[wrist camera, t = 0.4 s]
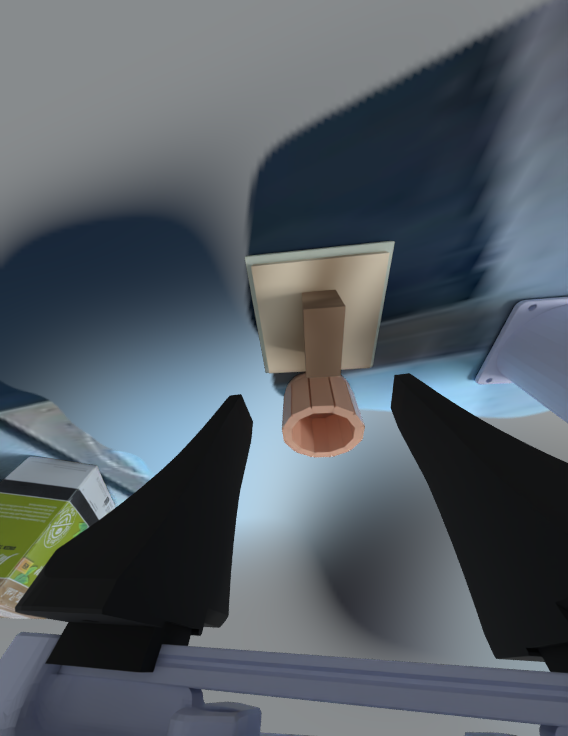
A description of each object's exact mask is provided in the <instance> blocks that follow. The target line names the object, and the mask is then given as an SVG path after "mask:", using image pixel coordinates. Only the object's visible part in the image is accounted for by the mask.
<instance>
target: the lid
mask: <svg viewBox="0 0 568 736" xmlns="http://www.w3.org/2000/svg"><path fill="white" fill-rule="evenodd" d="M389 254H390V253H389V252H387V251H381V252H371V253H361V254H352V255H342V256H332V257H322V258H312V259H302V260H292V261H282V262H272V263H262V264H253V265H252V266H251V269H252V275H253V281H254V287H255V292H256V298H257V304H258V310H259V316H260V322H261V328H262V334H263V339H264V345H265V351H266V357H267V363H268V369H269V373H285V372H303V371H306V378H312V377H331V376H341V369H359V368H370V366H371V360H372V354H373V348H374V342H375V336H376V331H377V325H378V319H379V313H380V307H381V301H382V295H383V290H384V284H385V278H386V272H387V266H388V260H389Z"/></svg>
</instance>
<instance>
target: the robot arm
mask: <svg viewBox="0 0 568 736" xmlns="http://www.w3.org/2000/svg"><path fill="white" fill-rule="evenodd" d="M531 305H532V306H531ZM530 306H531V307H530ZM529 307H530V308H529ZM475 382H477V383H478V384H501V383H514V384H516V385H517V386H518V387H520V388H521V389H522V390H524V391H525V392H526V393H528V394H529V395H530V396H532V397H533V398H534V399H536V400H537V401H538V402H540V403H541V404H542V405H544V406H545V407H546V408H548V409H549V410H550V411H552V412H553V413H555V414H556V415H557V416H559V417H560V418H561V419H563V420H564V421H566V422H567V423H568V297H558V298H545V299H532V300H523V301H520V302H518V303H517V304H516V305H515V306H514V308H513V310H512V312H511V314H510V316H509V317H508V319H507V321H506V323H505V325H504V327H503V328H502V330H501V332H500V334H499V336H498V338H497V340H496V341H495V343H494V345H493V347H492V349H491V351H490V352H489V354H488V356H487V358H486V360H485V362H484V363H483V365H482V367H481V369H480V371H479V373H478V375H477V376H476V378H475ZM391 410H392V412H393V415H394V418H395V420H396V423H397V426H398V428H399V430H400V432H401V434H402V436H403V438H404V440H405V441H406V443H407V445H408V447H409V449H410V451H411V453H412V455H413V456H414V458H415V460H416V462H417V464H418V466H419V468H420V469H421V471H422V473H423V475H424V477H425V479H426V481H427V483H428V485H429V488H430V490H431V492H432V495H433V497H434V499H435V502H436V504H437V507H438V509H439V511H440V513H441V516H442V519H443V521H444V524H445V526H446V529H447V531H448V534H449V536H450V539H451V541H452V544H453V547H454V549H455V552H456V555H457V558H458V560H459V563H460V566H461V568H462V571H463V574H464V576H465V579H466V582H467V585H468V588H469V590H470V593H471V596H472V599H473V602H474V605H475V608H476V611H477V613H478V617H479V619H480V623H481V626H482V629H483V632H484V634H485V637H486V639H487V641H488V643H489V645H490V648H491V650H492V652H493V654H494V656H495V658H496V659H510V660H525V661H540V662H545V663H546V665H547V666H548V668H549V670H550V672H543V671H529V670H515V669H501V668H487V667H473V666H459V665H444V664H431V663H417V662H403V661H389V660H375V659H361V658H347V657H333V656H319V655H305V654H291V653H277V652H262V651H248V650H235V649H221V648H206V647H192V646H188V644H189V639H190V636H191V635H197V636H200V635H201V634H202V631H203V627H218V628H219V627H220V626H221V625H222V624H223V623H224V622H225V621H226V619H227V617H228V615H229V596H230V579H231V566H232V555H233V543H234V534H235V525H236V516H237V509H238V500H239V494H240V488H241V484H242V480H243V475H244V470H245V466H246V462H247V457H248V453H249V448H250V444H251V437H252V427H253V421H252V418H251V416H250V414H249V412H248V409H247V407H246V405H245V402H244V400H243V397H242V395H241V394H240V395H231V396H229V397H228V398H227V399H226V401H225V402H224V403H223V404H222V405H221V407H220V408H219V409H218V410H217V411H216V413H215V414H214V415H213V416H212V418H211V419H210V420H209V421H208V422H207V423H206V425H205V426H204V427H203V428H202V429H201V430H200V431H199V433H198V434H197V435H196V436H195V437H194V438H193V439H192V440H191V441H190V442H189V443H188V445H187V446H186V447H185V448H184V449H183V450H182V451H181V452H180V453H179V454H178V455H177V456H176V457H175V458H174V459H173V460H172V461H171V462H170V463H169V464H167V465H166V466H165V467H164V468H163V469H162V470H161V471H160V472H159V473H158V474H156V475H155V476H154V477H153V478H152V479H151V480H149V481H148V482H147V483H146V484H145V485H144V486H142V487H141V488H140V489H139V490H138V491H136V492H135V493H134V494H133V495H131V496H130V497H129V498H128V499H126V500H125V501H124V502H123V503H121V504H120V505H119V506H117V507H116V508H115V509H113V510H112V511H111V512H109V513H108V514H107V515H105V516H104V517H103V518H101V519H100V520H98V521H97V522H96V523H94V524H93V525H91V526H90V527H88V528H87V529H86V530H84V531H83V532H81V533H80V534H78V535H77V536H75V537H74V538H73V539H71V540H70V541H68V542H67V543H65V544H64V545H62V546H61V547H59V548H58V549H57V550H56V551H55V552H54V553H53V555H52V556H51V558H50V559H49V560H48V562H47V563H46V565H45V566H44V567H43V569H42V570H41V571H40V573H39V574H38V576H37V577H36V578H35V580H34V581H33V583H32V584H31V585H30V587H29V588H28V590H27V591H26V592H25V594H24V595H23V597H22V598H21V599H20V601H19V602H18V604H17V605H16V606H15V612H17V613H20V614H24V615H30V616H35V617H41V618H47V619H53V620H60V621H65V622H68V624H67V626H66V628H65V629H64V631H63V633H62V635H56V634H44V633H29V632H21V633H19V634H17V635H16V637H15V638H14V640H13V641H12V643H11V644H10V645H9V647H8V648H7V650H6V652H5V653H4V654H3V656H2V657H1V659H0V736H308V735H292V734H276V733H261V732H260V726H261V710H260V708H258V707H254V706H250V705H246V704H242V703H236V702H217V703H206V704H205V703H204V700H203V693H202V691H201V689H205V690H215V691H224V692H234V693H243V694H254V695H263V696H272V697H282V698H292V699H302V700H311V701H320V702H330V703H339V704H349V705H359V706H368V707H377V708H388V709H396V710H407V711H415V712H425V713H435V714H444V715H455V716H463V717H474V718H482V719H492V720H502V721H511V722H521V723H530V724H540V729H539V732H540V736H568V463H566V462H564V461H562V460H560V459H557V458H555V457H553V456H551V455H549V454H546V453H545V452H542V451H540V450H538V449H536V448H534V447H532V446H530V445H528V444H526V443H524V442H522V441H520V440H518V439H516V438H514V437H512V436H511V435H509V434H507V433H505V432H503V431H501V430H499V429H497V428H495V427H494V426H492V425H490V424H488V423H486V422H485V421H483V420H481V419H479V418H478V417H476V416H474V415H473V414H471V413H469V412H468V411H466V410H464V409H463V408H461V407H459V406H458V405H456V404H455V403H453V402H452V401H450V400H449V399H447V398H445V397H444V396H442V395H441V394H439V393H438V392H436V391H435V390H433V389H432V388H430V387H429V386H427V385H426V384H425V383H423V382H422V381H420V380H419V379H417V378H416V377H414V376H413V375H411V374H410V373H408V374H400V375H395V376H394V384H393V393H392V401H391ZM465 736H516V735H510V734H504V733H491V732H489V733H488V732H483V733H482V732H465Z"/></svg>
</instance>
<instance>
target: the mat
mask: <svg viewBox="0 0 568 736" xmlns="http://www.w3.org/2000/svg"><path fill="white" fill-rule="evenodd" d="M394 243H395V242H394V241H385V242H375V243H366V244H356V245H347V246H337V247H328V248H318V249H308V250H299V251H289V252H280V253H270V254H261V255H251V256H246V257H245V262H246V268H247V273H248V279H249V284H250V290H251V295H252V301H253V306H254V312H255V317H256V323H257V328H258V334H259V339H260V344H261V350H262V356H263V361H264V366H265V372H266V373H269V369H268V363H267V357H266V351H265V345H264V339H263V334H262V328H261V322H260V316H259V310H258V304H257V298H256V292H255V287H254V281H253V275H252V269H251V266H252V265H253V264H262V263H272V262H282V261H292V260H302V259H312V258H322V257H332V256H342V255H352V254H361V253H371V252H381V251H387V252H389V253H390V254H389V260H388V266H387V272H386V278H385V284H384V290H383V295H382V301H381V307H380V313H379V319H378V325H377V331H376V336H375V342H374V348H373V354H372V360H371V366H370V367H372V366H373V361H374V355H375V349H376V344H377V338H378V333H379V327H380V321H381V316H382V310H383V304H384V299H385V293H386V288H387V282H388V276H389V271H390V265H391V259H392V254H393V248H394Z"/></svg>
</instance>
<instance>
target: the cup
mask: <svg viewBox="0 0 568 736" xmlns="http://www.w3.org/2000/svg"><path fill="white" fill-rule="evenodd" d="M364 428H365V426H364V422H363V420H362V417H361V414H360V411H359V408H358V405H357V402H356V399H355V396H354V393H353V391H352V390H351V388H350V385H349V383H348V381H347V380H346V379H345V378H344V377H343V376H342V375H341V376H331V377H312V378H306V371H305V372H302V373H300V374H298V375H297V376H295V377H294V378H293V379H292V380H291V381H290V382H289V383H288V385H287V387H286V390H285V394H284V404H283V421H282V432H283V438H284V441H285V443H286V444H287V445H288V446H289V447H290V448H292V449H293V450H294V451H296V452H297V453H300V454H304V455H307V456H310V457H312V456H313V457H331V455H332V456H336V455H339V454H342V453H345V452H348V451H349V450H352V449H353V448H354V447H355V446H356V445H357V444H358V443H359V442H360V441H362V440H361V439H363V433H364Z"/></svg>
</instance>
